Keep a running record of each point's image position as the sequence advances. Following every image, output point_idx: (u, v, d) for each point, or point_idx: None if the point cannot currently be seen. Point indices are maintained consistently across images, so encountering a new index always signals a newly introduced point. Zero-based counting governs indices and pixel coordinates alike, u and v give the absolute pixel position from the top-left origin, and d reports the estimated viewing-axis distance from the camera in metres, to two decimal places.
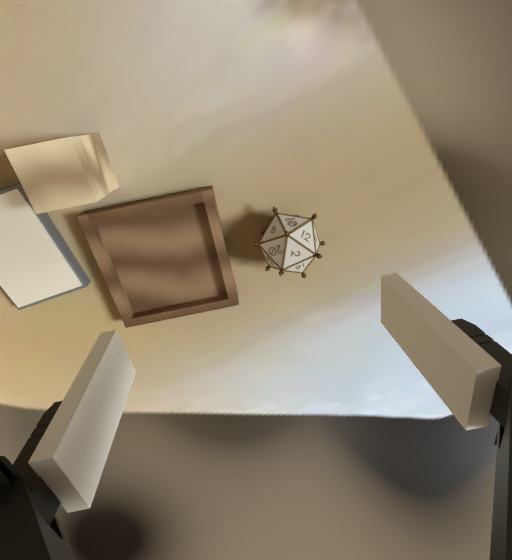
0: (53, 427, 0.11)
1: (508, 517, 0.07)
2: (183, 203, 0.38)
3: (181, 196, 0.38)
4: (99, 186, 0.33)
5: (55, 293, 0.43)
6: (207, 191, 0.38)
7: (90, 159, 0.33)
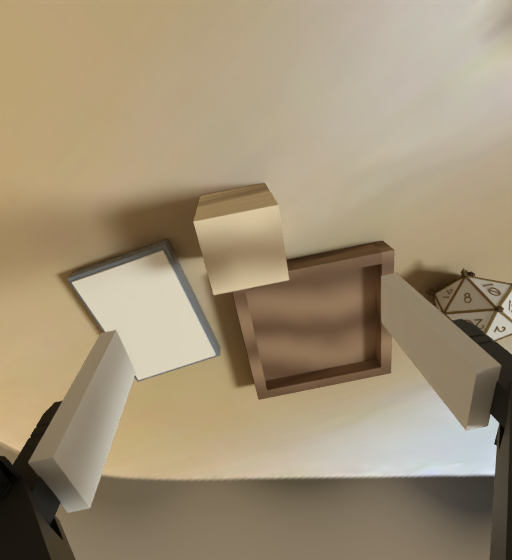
0: (53, 427, 0.11)
1: (508, 517, 0.07)
2: (357, 265, 0.31)
3: (357, 257, 0.31)
4: None
5: (184, 364, 0.36)
6: (388, 251, 0.31)
7: None
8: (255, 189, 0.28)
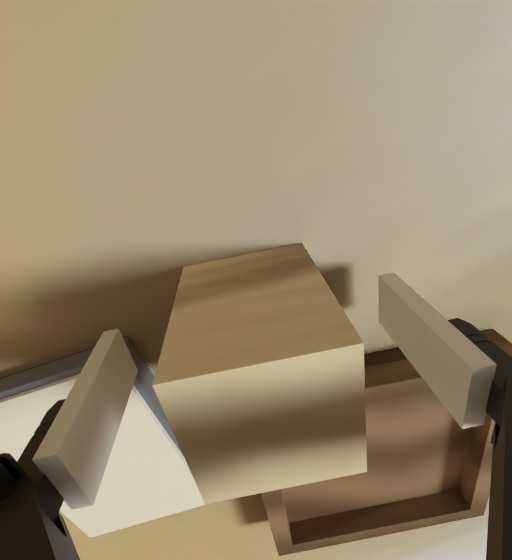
0: (57, 425, 0.11)
1: (504, 515, 0.07)
2: None
3: None
4: None
5: (162, 515, 0.22)
6: None
7: None
8: (287, 261, 0.14)
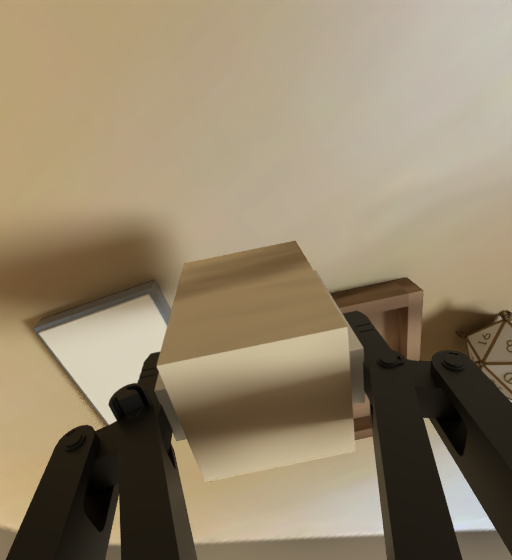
0: None
1: (387, 492, 0.07)
2: (380, 309, 0.26)
3: (379, 300, 0.26)
4: None
5: None
6: (416, 292, 0.26)
7: None
8: (281, 258, 0.15)
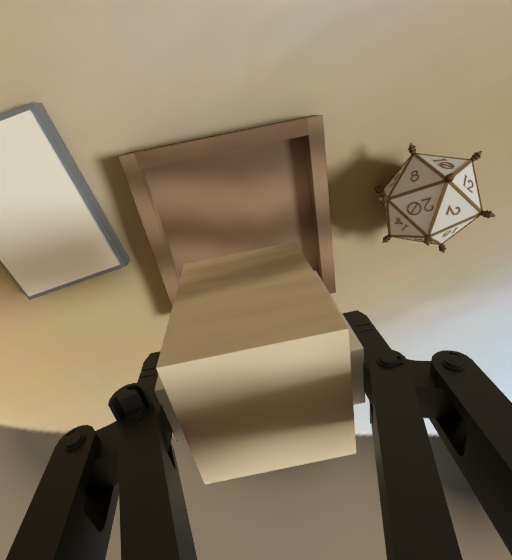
0: None
1: (387, 492, 0.07)
2: (278, 137, 0.25)
3: (276, 125, 0.25)
4: None
5: (82, 275, 0.30)
6: (316, 117, 0.25)
7: None
8: (282, 259, 0.15)
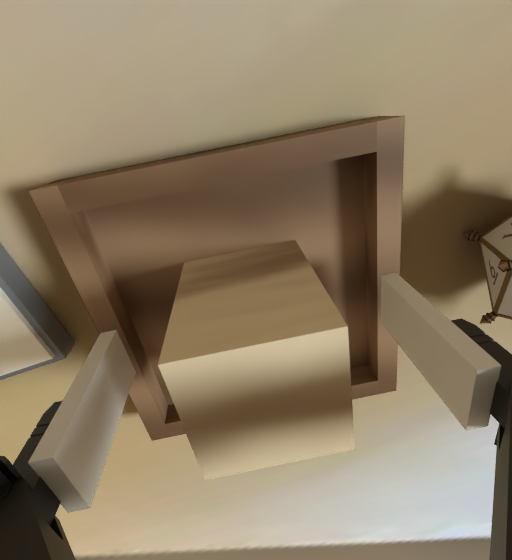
0: (53, 427, 0.11)
1: (508, 517, 0.07)
2: (322, 155, 0.14)
3: (320, 134, 0.14)
4: None
5: None
6: (392, 121, 0.14)
7: None
8: (281, 257, 0.15)
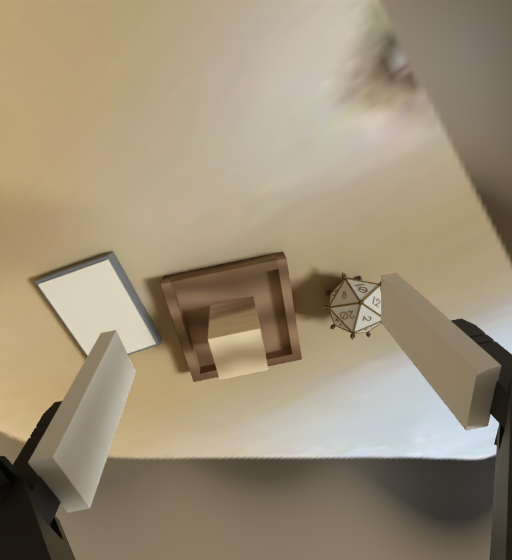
0: (53, 427, 0.11)
1: (508, 517, 0.07)
2: (259, 270, 0.41)
3: (258, 264, 0.40)
4: None
5: (130, 351, 0.45)
6: (282, 259, 0.40)
7: (260, 330, 0.40)
8: (247, 304, 0.42)
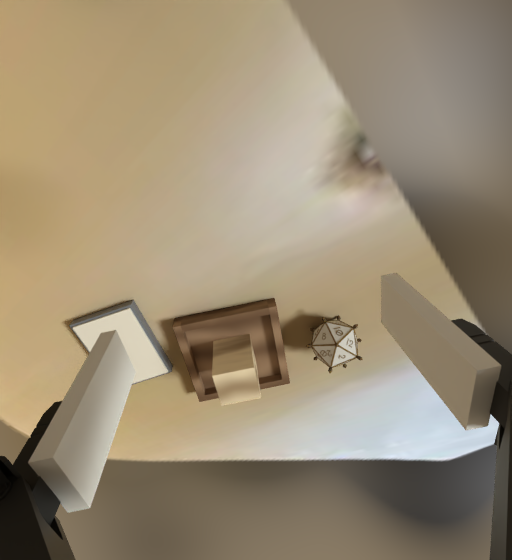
0: (53, 427, 0.11)
1: (508, 517, 0.07)
2: (254, 315, 0.49)
3: (253, 311, 0.49)
4: (258, 381, 0.50)
5: (147, 378, 0.54)
6: (273, 307, 0.49)
7: None
8: (244, 342, 0.51)
